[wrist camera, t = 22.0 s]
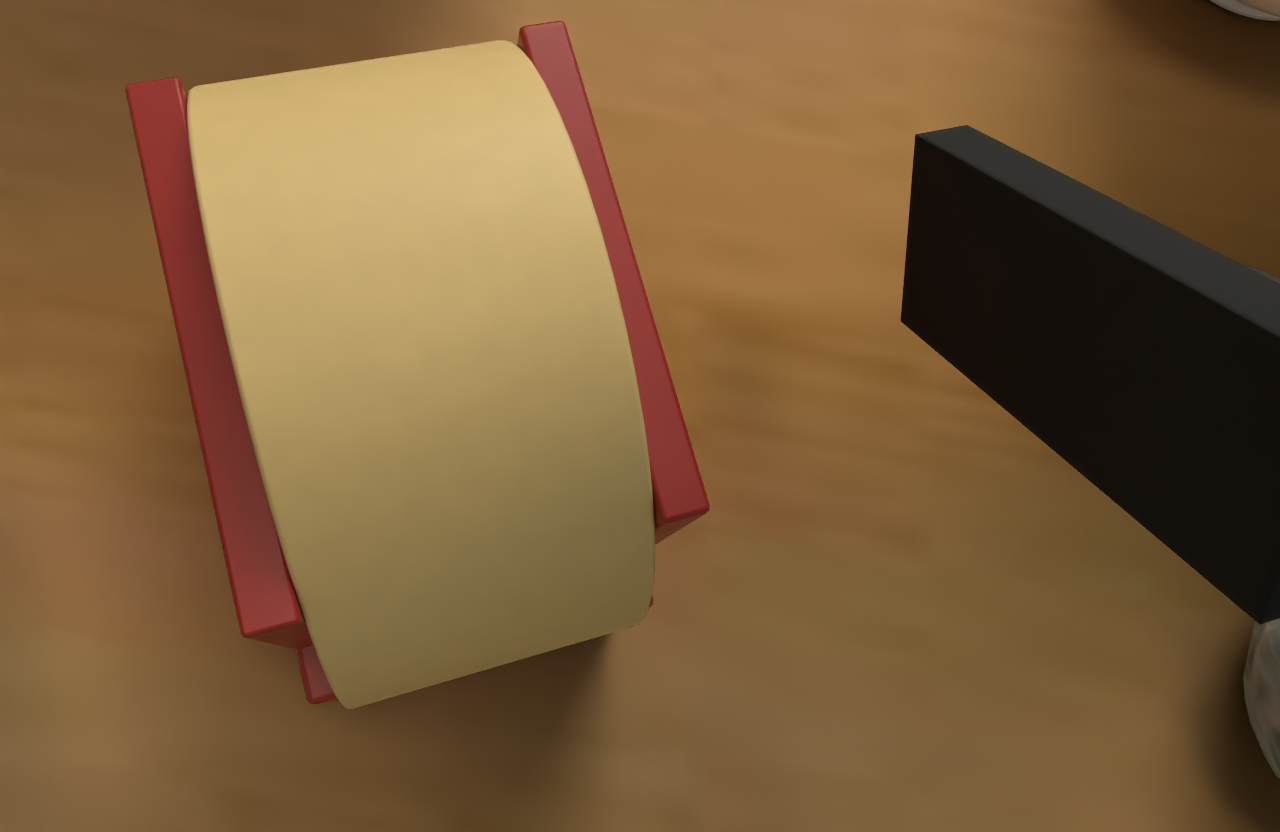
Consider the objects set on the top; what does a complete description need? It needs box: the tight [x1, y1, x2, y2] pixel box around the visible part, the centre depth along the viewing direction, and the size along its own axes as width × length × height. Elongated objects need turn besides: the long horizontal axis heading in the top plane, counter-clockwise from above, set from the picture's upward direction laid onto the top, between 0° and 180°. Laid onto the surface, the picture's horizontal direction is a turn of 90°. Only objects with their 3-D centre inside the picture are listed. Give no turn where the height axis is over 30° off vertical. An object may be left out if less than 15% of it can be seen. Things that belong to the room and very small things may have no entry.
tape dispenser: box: [125, 21, 710, 709], centre depth 16 cm, size 5×9×10 cm, turn 16°
